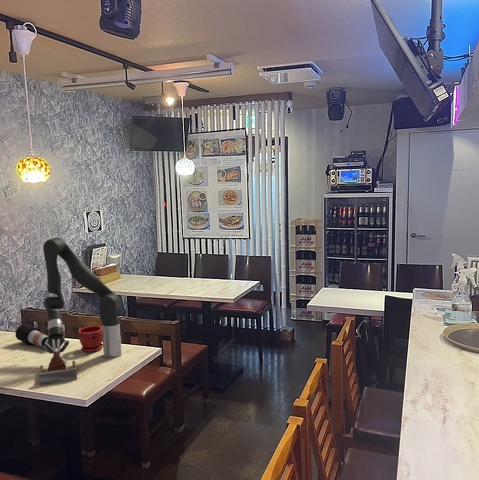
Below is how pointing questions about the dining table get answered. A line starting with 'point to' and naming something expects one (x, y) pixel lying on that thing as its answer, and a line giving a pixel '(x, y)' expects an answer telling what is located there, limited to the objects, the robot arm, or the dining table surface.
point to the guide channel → (57, 375)
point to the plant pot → (91, 338)
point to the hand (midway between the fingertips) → (57, 359)
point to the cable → (31, 335)
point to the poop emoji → (57, 363)
